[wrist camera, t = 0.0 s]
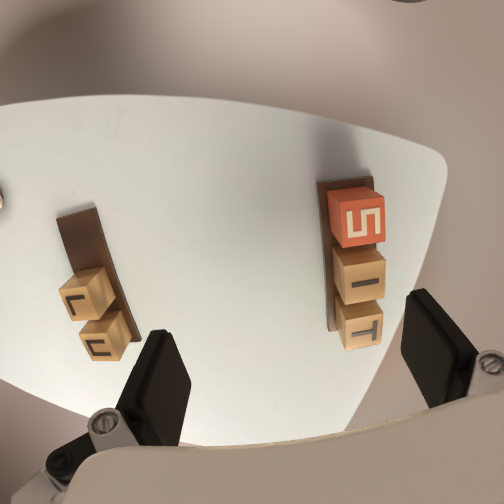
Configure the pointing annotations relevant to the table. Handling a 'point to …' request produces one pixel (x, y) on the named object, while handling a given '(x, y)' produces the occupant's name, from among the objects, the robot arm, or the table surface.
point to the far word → (95, 289)
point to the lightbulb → (1, 202)
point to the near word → (351, 277)
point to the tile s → (356, 216)
